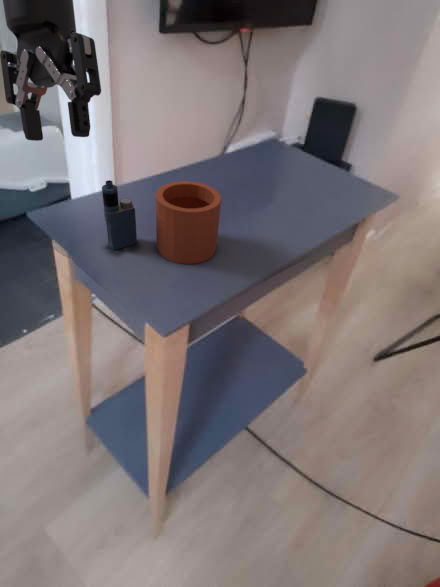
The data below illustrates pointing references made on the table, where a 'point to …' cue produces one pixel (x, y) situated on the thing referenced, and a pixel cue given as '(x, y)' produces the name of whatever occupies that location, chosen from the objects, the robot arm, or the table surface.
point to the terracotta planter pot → (187, 221)
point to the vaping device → (118, 218)
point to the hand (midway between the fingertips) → (57, 138)
